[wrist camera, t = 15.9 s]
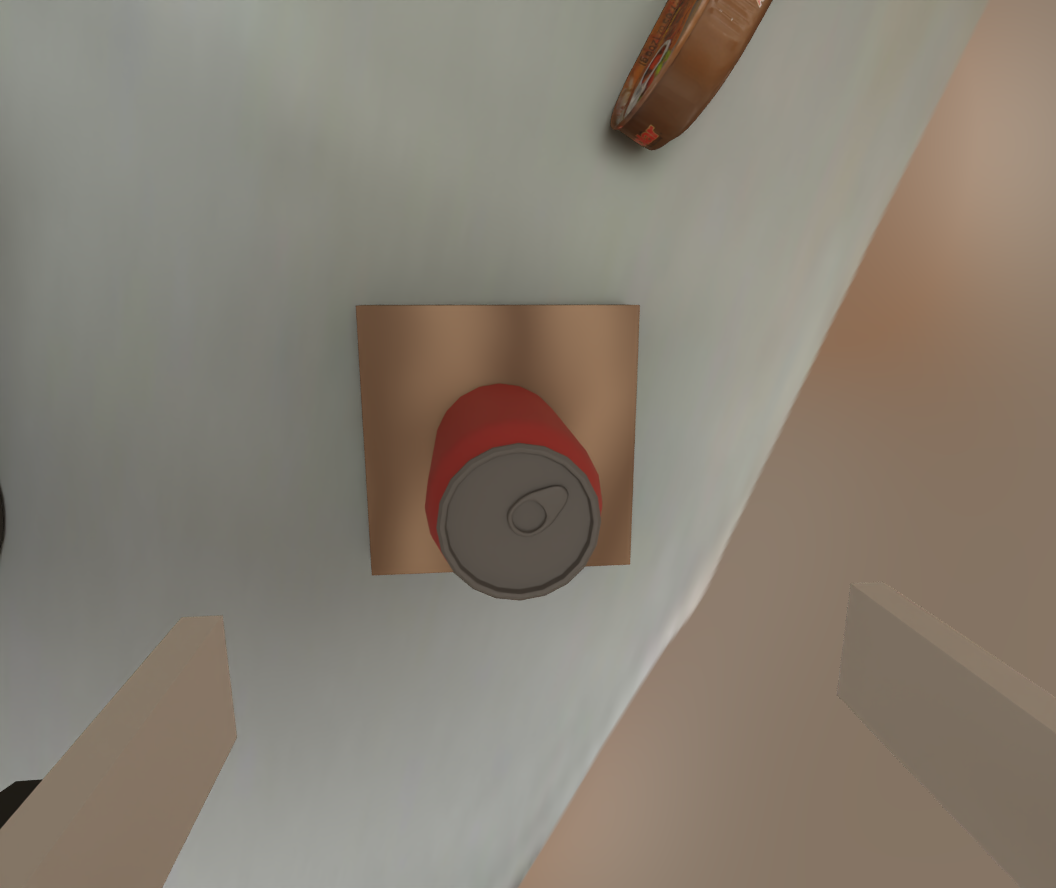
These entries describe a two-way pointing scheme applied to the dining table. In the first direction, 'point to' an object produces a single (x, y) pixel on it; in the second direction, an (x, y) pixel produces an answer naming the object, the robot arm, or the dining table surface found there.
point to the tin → (683, 66)
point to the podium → (479, 360)
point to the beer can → (511, 494)
